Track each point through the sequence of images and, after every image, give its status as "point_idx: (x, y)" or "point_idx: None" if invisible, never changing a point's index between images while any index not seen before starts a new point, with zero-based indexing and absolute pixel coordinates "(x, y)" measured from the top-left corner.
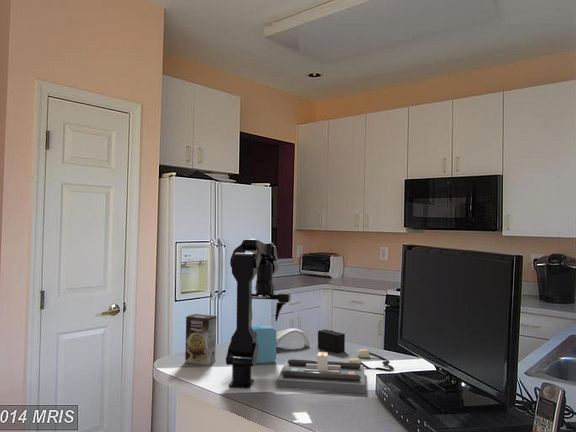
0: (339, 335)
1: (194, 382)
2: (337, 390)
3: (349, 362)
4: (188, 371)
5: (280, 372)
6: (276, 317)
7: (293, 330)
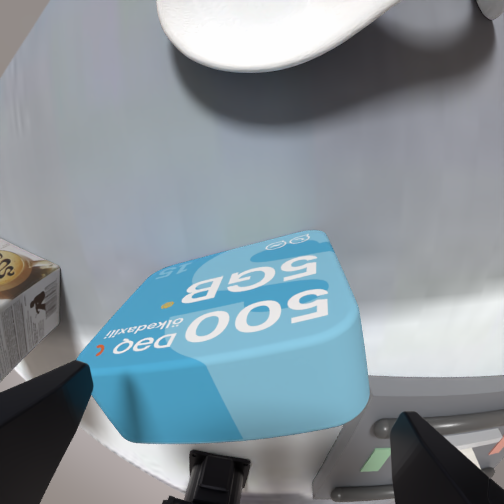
0: None
1: (102, 440)
2: None
3: None
4: (45, 370)
5: (330, 473)
6: (402, 480)
7: None
